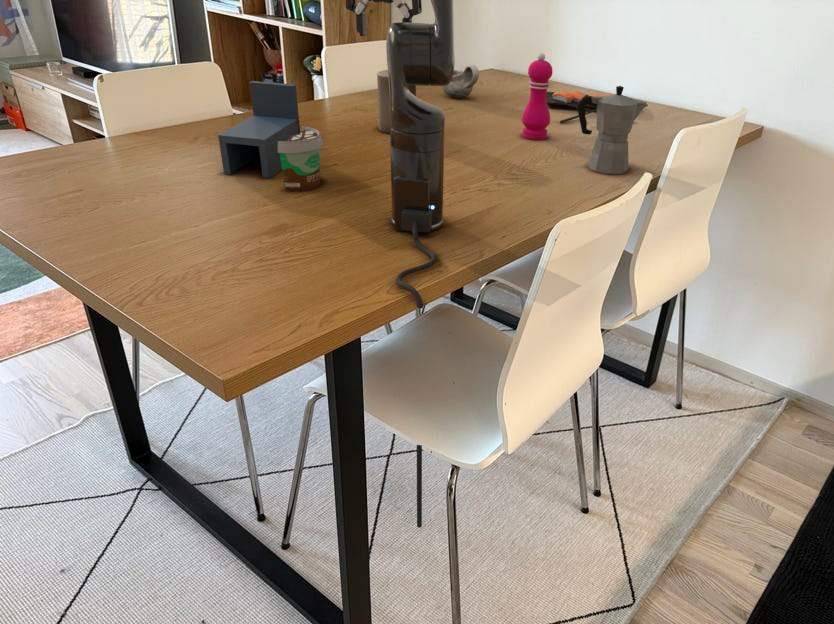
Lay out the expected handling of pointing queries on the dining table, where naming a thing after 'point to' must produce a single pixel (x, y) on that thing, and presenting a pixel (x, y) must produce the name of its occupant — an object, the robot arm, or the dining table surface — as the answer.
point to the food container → (301, 160)
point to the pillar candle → (386, 100)
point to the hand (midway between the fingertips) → (384, 37)
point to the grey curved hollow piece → (462, 82)
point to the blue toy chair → (262, 129)
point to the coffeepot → (610, 130)
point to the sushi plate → (569, 101)
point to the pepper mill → (537, 100)
